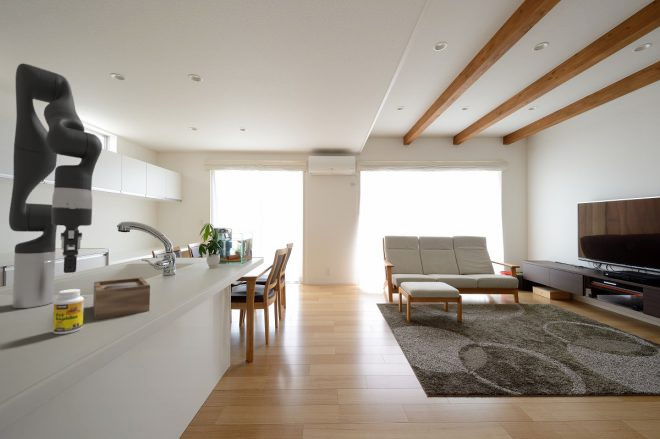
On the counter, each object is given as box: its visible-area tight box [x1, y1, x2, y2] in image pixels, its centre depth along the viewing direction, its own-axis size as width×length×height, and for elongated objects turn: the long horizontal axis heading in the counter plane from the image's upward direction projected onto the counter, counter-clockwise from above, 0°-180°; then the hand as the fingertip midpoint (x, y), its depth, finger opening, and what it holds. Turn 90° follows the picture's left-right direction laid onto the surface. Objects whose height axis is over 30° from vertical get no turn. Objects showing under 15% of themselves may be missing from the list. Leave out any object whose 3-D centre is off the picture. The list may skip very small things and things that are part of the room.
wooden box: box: [92, 277, 151, 320], centre depth 88 cm, size 16×13×8 cm
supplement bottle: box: [52, 288, 85, 335], centre depth 70 cm, size 6×6×10 cm
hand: (70, 270), depth 70 cm, fingers open, 8 cm apart
